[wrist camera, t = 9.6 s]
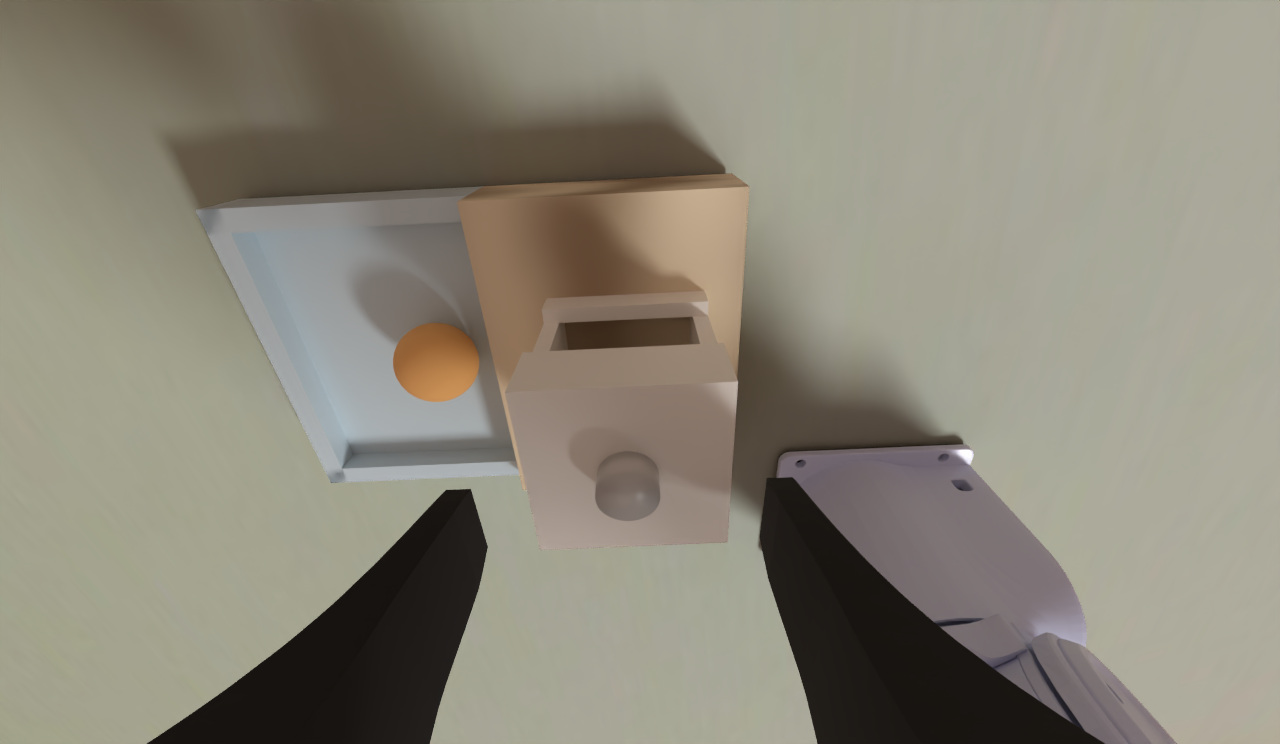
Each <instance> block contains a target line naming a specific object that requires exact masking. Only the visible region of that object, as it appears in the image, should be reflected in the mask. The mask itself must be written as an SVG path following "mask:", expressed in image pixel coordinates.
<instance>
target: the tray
mask: <svg viewBox="0 0 1280 744" xmlns="http://www.w3.org/2000/svg"><path fill="white" fill-rule="evenodd" d="M482 187H483V186H480V187H461V188H441V189H422V190H403V191H383V192H364V193H345V194H325V195H306V196H287V197H267V198H248V199H237V200H233V201H229V202H225V203H221V204H217V205H213V206H209V207H205V208H201V209H197V210H195V211H196V213H197V215H198V217H199V219H200V221H201V223H202V225H203V227H204V229H205V231H206V233H207V235H208V237H209V239H210V241H211V243H212V245H213V247H214V249H215V251H216V253H217V255H218V257H219V259H220V261H221V263H222V265H223V267H224V269H225V271H226V273H227V275H228V277H229V279H230V281H231V283H232V285H233V287H234V289H235V291H236V293H237V295H238V297H239V299H240V301H241V303H242V305H243V307H244V309H245V311H246V313H247V315H248V317H249V319H250V321H251V323H252V325H253V327H254V329H255V331H256V333H257V335H258V337H259V339H260V341H261V343H262V345H263V347H264V349H265V351H266V353H267V355H268V357H269V359H270V361H271V363H272V365H273V367H274V369H275V371H276V373H277V375H278V378H279V380H280V382H281V384H282V386H283V388H284V390H285V392H286V394H287V396H288V398H289V400H290V402H291V404H292V406H293V408H294V410H295V412H296V414H297V416H298V418H299V420H300V422H301V424H302V426H303V428H304V430H305V432H306V434H307V436H308V438H309V440H310V442H311V444H312V446H313V448H314V450H315V452H316V454H317V456H318V458H319V460H320V462H321V464H322V466H323V468H324V470H325V472H326V474H327V476H328V478H329V480H330V482H331V483H340V482H364V481H387V480H410V479H433V478H456V477H479V476H503V475H519V470H518V466H517V462H516V457H515V453H514V449H513V444H512V440H511V435H510V431H509V427H508V422H507V418H506V414H505V409H504V405H503V401H502V396H501V392H500V388H499V383H498V379H497V375H496V370H495V366H494V361H493V357H492V353H491V348H490V344H489V340H488V335H487V331H486V327H485V322H484V318H483V314H482V309H481V305H480V301H479V296H478V292H477V287H476V283H475V279H474V274H473V270H472V266H471V261H470V257H469V253H468V248H467V244H466V240H465V235H464V231H463V226H462V222H461V218H460V213H459V209H458V205H457V201H459V200H461V199H462V198H464V197H466V196H468V195H469V194H471V193H473V192H475V191H476V190H478V189H480V188H482ZM427 323H444V324H448V325H451V326H454V327H456V328H458V329H460V330H461V331H463V332H464V333H465V334H467V335H468V337H469V338H470V339H471V340H472V341H473V343H474V345H475V347H476V349H477V352H478V355H479V370H478V374H477V376H476V379H475V381H474V382H473V384H472V385H471V387H470V388H469V389H468V390H467V391H466V392H464V393H463V394H462V395H460V396H458V397H456V398H454V399H451V400H448V401H443V402H430V401H425V400H421V399H419V398H416V397H415V396H413V395H411V394H410V393H408V392H407V391H406V390H405V389H404V388H403V387H402V386H401V384H400V383H399V381H398V380H397V378H396V375H395V372H394V368H393V356H394V352H395V349H396V346H397V344H398V343H399V341H400V340H401V338H402V337H403V336H404V335H405V334H406V333H408V332H409V331H410V330H412V329H413V328H415V327H417V326H420V325H423V324H427Z"/></svg>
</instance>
